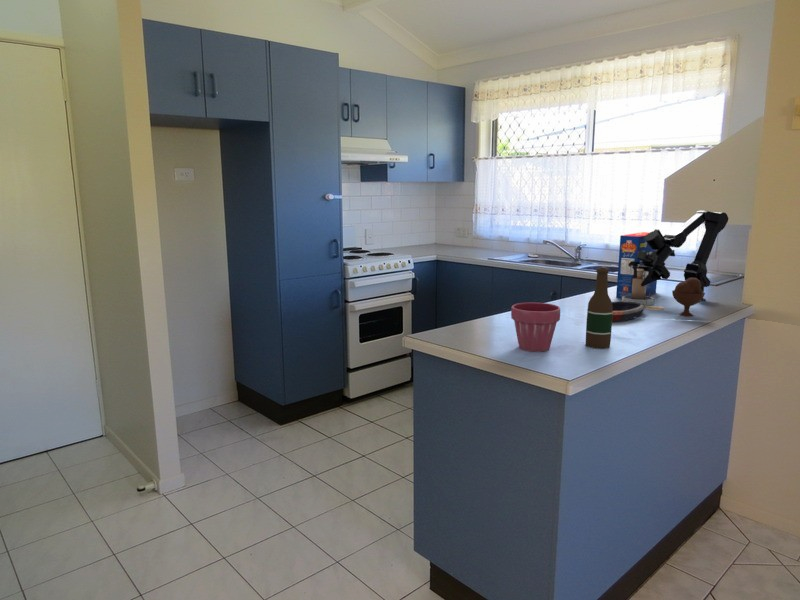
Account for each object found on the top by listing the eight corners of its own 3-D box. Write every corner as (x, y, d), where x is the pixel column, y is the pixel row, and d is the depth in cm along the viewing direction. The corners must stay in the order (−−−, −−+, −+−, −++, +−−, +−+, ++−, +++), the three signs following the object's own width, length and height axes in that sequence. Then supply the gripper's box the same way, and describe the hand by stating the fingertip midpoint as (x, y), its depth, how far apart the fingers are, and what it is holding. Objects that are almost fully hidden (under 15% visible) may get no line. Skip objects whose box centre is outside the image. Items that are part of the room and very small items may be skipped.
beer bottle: (580, 342, 181) (584, 266, 177) (604, 342, 182) (609, 266, 177) (590, 349, 173) (595, 270, 169) (615, 348, 174) (621, 269, 170)
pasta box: (638, 290, 277) (643, 232, 272) (655, 292, 272) (660, 233, 267) (616, 298, 257) (620, 235, 252) (634, 300, 251) (639, 236, 246)
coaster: (643, 307, 237) (643, 305, 237) (662, 307, 236) (662, 306, 236) (646, 310, 231) (647, 309, 231) (665, 311, 229) (665, 310, 229)
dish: (656, 315, 223) (657, 302, 222) (612, 326, 204) (613, 313, 203) (619, 309, 234) (620, 297, 234) (574, 319, 215) (575, 306, 214)
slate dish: (620, 300, 251) (620, 294, 251) (650, 302, 248) (650, 295, 248) (624, 306, 240) (624, 299, 239) (655, 307, 237) (655, 300, 236)
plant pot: (505, 351, 172) (506, 308, 169) (515, 340, 184) (517, 300, 182) (554, 356, 166) (556, 312, 164) (561, 344, 179) (563, 304, 176)
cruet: (632, 298, 247) (634, 267, 245) (645, 299, 245) (648, 268, 242) (630, 300, 243) (632, 269, 240) (643, 301, 240) (646, 270, 238)
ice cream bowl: (694, 313, 225) (698, 275, 222) (706, 319, 214) (710, 279, 211) (666, 313, 226) (669, 275, 223) (677, 319, 215) (680, 279, 212)
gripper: (633, 242, 249) (611, 269, 248) (666, 246, 232) (643, 274, 230) (646, 259, 254) (624, 286, 252) (680, 264, 236) (657, 292, 235)
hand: (636, 284), depth 242 cm, fingers open, 5 cm apart
